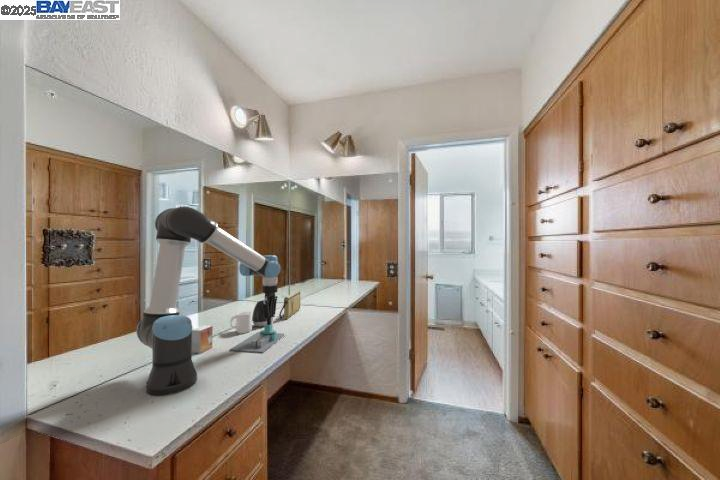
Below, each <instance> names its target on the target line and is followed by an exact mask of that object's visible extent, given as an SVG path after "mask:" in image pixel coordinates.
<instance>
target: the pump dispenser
mask: <svg viewBox="0 0 720 480" xmlns="http://www.w3.org/2000/svg"><path fill="white" fill-rule="evenodd" d="M252 311H253V312H252V325H254V326H255V327H258V328H262V327H264V325H266V324H267V318H265V317H264V310H263V304H262V300H259V301H258V302H256V304H255V306H254V308H253V310H252Z"/></svg>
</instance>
